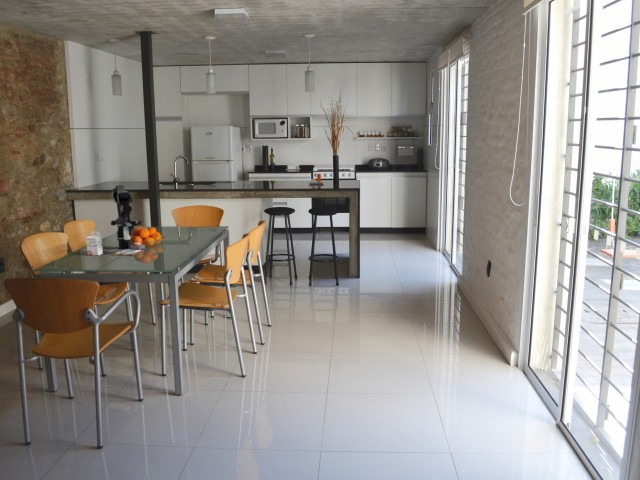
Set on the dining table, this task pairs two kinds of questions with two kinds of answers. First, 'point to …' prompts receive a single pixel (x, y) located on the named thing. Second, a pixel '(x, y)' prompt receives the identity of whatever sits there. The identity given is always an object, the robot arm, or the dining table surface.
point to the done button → (137, 243)
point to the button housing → (138, 247)
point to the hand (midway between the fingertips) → (127, 236)
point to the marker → (126, 233)
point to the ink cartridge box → (94, 244)
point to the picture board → (128, 252)
